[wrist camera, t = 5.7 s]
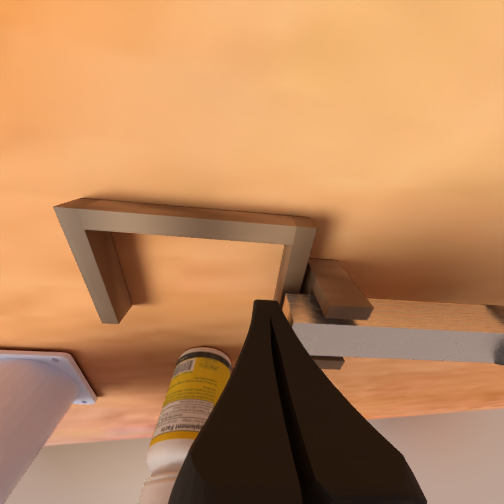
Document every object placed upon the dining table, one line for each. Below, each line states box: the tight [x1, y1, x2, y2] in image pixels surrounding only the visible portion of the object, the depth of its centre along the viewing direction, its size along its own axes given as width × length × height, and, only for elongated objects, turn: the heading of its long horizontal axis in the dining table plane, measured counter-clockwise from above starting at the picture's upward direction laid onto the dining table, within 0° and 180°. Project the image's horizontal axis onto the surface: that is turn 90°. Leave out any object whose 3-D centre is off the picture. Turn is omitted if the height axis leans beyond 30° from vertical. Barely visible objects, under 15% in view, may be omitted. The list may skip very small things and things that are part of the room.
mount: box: [53, 198, 374, 370], centre depth 10 cm, size 14×8×4 cm, turn 85°
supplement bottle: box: [138, 347, 231, 504], centre depth 13 cm, size 5×5×8 cm
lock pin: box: [282, 293, 504, 365], centre depth 11 cm, size 13×3×3 cm, turn 85°
